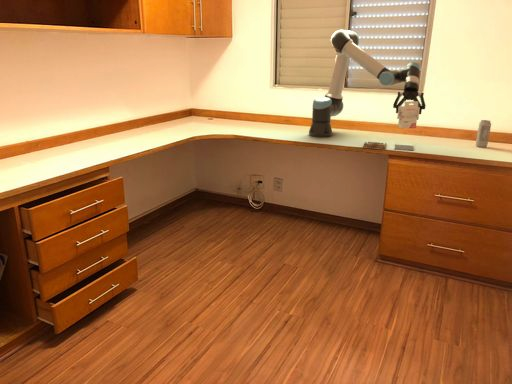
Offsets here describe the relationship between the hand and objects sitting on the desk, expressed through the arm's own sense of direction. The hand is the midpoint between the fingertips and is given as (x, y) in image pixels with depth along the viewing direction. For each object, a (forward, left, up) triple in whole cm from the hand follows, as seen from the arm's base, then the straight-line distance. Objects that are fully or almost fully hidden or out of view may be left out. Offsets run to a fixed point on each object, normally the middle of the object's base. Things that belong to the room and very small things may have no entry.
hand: (407, 117), depth 234 cm
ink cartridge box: (0, +3, -6) cm, 7 cm away
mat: (0, +3, -17) cm, 18 cm away
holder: (-16, +3, -17) cm, 24 cm away
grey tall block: (+42, +22, -18) cm, 50 cm away
